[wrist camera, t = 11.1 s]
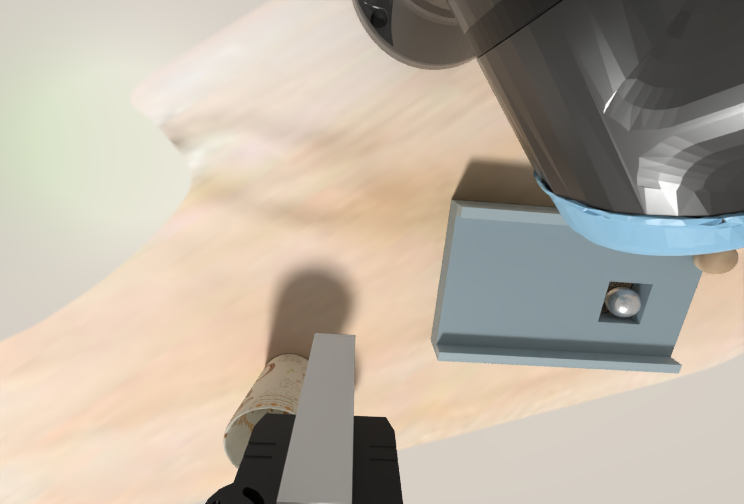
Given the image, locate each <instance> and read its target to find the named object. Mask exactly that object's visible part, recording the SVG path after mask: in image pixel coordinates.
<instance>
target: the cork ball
mask: <svg viewBox="0 0 744 504" xmlns="http://www.w3.org/2000/svg"><path fill="white" fill-rule="evenodd" d="M693 262H694V264H695V266H696V267H697V268H698V269H700V270H701V271H703V272H706V273H709V274H722V273H726V272H728V271H730V270H731V269H733V268H734V267H735V266H736V264H737V262H738V253H737V251H736V250H730V251H724V252H717V253H709V254H700V255H693Z"/></svg>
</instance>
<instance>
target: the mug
mask: <svg viewBox="0 0 744 504" xmlns="http://www.w3.org/2000/svg"><path fill="white" fill-rule="evenodd" d="M307 365H308V360H307V359H305V358H303V357H301V356H299V355H295V354H284V355H280V356H277V357H275V358H273V359H272V360H271V361H270V362H269V363H268V364H267V365H266V367H265V368H264V370H263V371H262V373H261V374H260V376H259V377H258V379H257V381H256V382H255V384H254V385H253V387H252V388H251V390H250V391H249V393H248V394H247V396H246V397H245V399H244V400H243V402H242V403H241V405H240V407H239V408H238V410H237V411H236V413H235V414H234V416H233V417H232V419H231V420H230V422H229V424H228V426H227V428H226V431H225V434H224V449H225V452H226V455H227V457H228V458H229V460H230V461H231V463H232V464H233V465H234V466H235V467H236V468H237V469H239V466H240V463H241V461H242V459H243V455H244V452H245V450H246V447H247V445H248V441H249V439H250V436H251V433H252V430H253V427H254V426H255V425H256V424H257V422H258V421H259V420H260V419H261V418H262V417H263V416H264V415H265V414H266V413H271V414H295V415H296V414H297V409H298V405H299V400H300V396H301V391H302V387H303V383H304V378H305V374H306V369H307Z"/></svg>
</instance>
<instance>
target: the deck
mask: <svg viewBox="0 0 744 504" xmlns="http://www.w3.org/2000/svg"><path fill="white" fill-rule="evenodd" d="M702 272H703V271H701V270H700V269H698V268H697V267H696V266H695V264H694V262H693V255H685V256H653V255H640V254H632V253H626V252H621V251H617V250H613V249H609V248H606V247H603V246H600V245H597V244H595V243H593V242H592V241H589V240H588V239H586V238H585V237H584V236H582V235H581V234H579V233H577V232H575V231H574V230H573V229H572V228H571V227H570V226H569V225H568V224H567V223H566V222H565V220H564V219H563V217H562V216H561V214H560V212H559V211H558V209H557V207H545V206H531V205H518V204H505V203H492V202H479V201H466V200H453V199H452V200H451V206H450V213H449V220H448V227H447V234H446V240H445V247H444V254H443V261H442V268H441V275H440V281H439V288H438V295H437V302H436V309H435V315H434V322H433V329H432V336H431V342H432V345H433V348H434V350H435V353H436V356H437V359H438V361H453V362H472V363H491V364H510V365H530V366H549V367H568V368H587V369H606V370H626V371H645V372H664V373H679V371H680V369H681V366H682V365H681V364H680V363H678V362H677V361H675V360H674V359H673V358H671V354H672V352H673V349H674V346H675V344H676V341H677V338H678V336H679V333H680V330H681V328H682V325H683V322H684V320H685V317H686V314H687V312H688V309H689V306H690V304H691V301H692V298H693V296H694V293H695V290H696V288H697V285H698V282H699V280H700V277H701V274H702ZM609 282H625V283H633V285H632V288H631V289H632V290H634V291H635V292H636V293H637V294H638V295H639V297H640V299H641V307H640V310H639V311H638V312H637V313H636V314H635V315H633V316H630V317H619V316H616V315H614V314H612V313H605V312H601V309H602V306H603V303H604V299H605V296H606V293H607V289H608V286H609Z"/></svg>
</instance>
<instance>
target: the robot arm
mask: <svg viewBox="0 0 744 504" xmlns="http://www.w3.org/2000/svg"><path fill="white" fill-rule="evenodd" d="M352 1H353V5H354V8H355V10H356V13H357V15H358V17H359V19H360V21H361V23H362V25H363V27H364V28H365V30H366V32H367V33H368V34H369V36H370V37H371V38H372V40H373V41H374V42H375V43H376V44H377V45H378V46H379V47H380V48H381V49H382V50H383V51H385V52H386V53H387V54H388V55H390V56H391V57H393V58H395V59H396V60H398V61H400V62H402V63H404V64H407V65H409V66H413V67H416V68H421V69H430V70H438V69H447V68H452V67H456V66H459V65H462V64H464V63H466V62H469V61H471V60H472V59H474V58H477V61H478V63H479V65H480V67H481V69H482V71H483V73H484V75H485V77H486V79H487V80H488V82H489V84H490V86H491V88H492V90H493V92H494V94H495V96H496V98H497V100H498V102H499V103H500V105H501V107H502V109H503V111H504V113H505V115H506V117H507V119H508V121H509V123H510V125H511V126H512V128H513V130H514V132H515V134H516V136H517V138H518V140H519V142H520V144H521V146H522V147H523V149H524V151H525V153H526V155H527V157H528V159H529V161H530V163H531V165H532V167H533V169H534V177H535V179H536V181H537V183H538V185H539V186H540V187H541V188H542V190H543V191H544V192H546V193H547V194H548V195H549V196H550V197H551V199H552V200H553V202H554V204H555V205H556V207H557V209H558V211H559V212H560V214H561V216H562V217H563V219H564V220H565V222H566V223H567V224H568V225H569V226H570V227H571V228H572V229H573V230H574V231H575V232H577V233H579V234H581V235H582V236H584V237H585V238H586V239H588V240H589V241H592V242H593V243H595V244H597V245H600V246H603V247H606V248H609V249H613V250H617V251H621V252H626V253H632V254H640V255H653V256H685V255H700V254H709V253H717V252H724V251H730V250H735V249H740V248H744V0H352ZM479 56H480V57H479ZM354 374H355V335H345V334H327V333H315V334H314V339H313V343H312V347H311V352H310V356H309V361H308V365H307V369H306V374H305V378H304V383H303V387H302V391H301V396H300V400H299V405H298V409H297V414H296V415H295V414H271V413H266V414H265V415H264V416H263V417H262V418H261V419H260V420H259V421H258V422H257V424H256V425H255V426H254V427H253V430H252V433H251V436H250V439H249V441H248V445H247V447H246V450H245V452H244V455H243V459H242V461H241V463H240V466H239V469H238V472H237V474H236V477H235V480H234V483H232V484H230V485H227V486H225V487H223V488H221V489H219V490H218V491H217V492H216V493H215V494H213V495H212V496H211V497H210V498H209V499H208V500H207V502H206V503H205V504H403V500H402V491H401V483H400V474H399V466H398V458H397V450H396V440H395V432H394V429H393V428H392V426H391V425H390V423H389V421H388V420H387V418H386V417H368V416H354Z"/></svg>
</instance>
